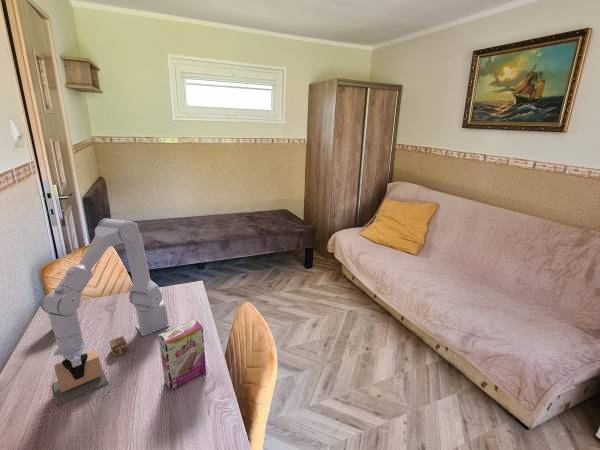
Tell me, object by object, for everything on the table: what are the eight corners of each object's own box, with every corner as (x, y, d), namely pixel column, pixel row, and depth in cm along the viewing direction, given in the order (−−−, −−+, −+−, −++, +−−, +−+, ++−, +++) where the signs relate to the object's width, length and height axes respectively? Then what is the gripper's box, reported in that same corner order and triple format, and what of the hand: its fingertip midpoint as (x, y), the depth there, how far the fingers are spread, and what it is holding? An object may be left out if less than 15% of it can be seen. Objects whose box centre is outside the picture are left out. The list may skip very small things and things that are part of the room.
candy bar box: (171, 392, 91) (164, 343, 86) (164, 382, 94) (156, 334, 89) (207, 371, 98) (203, 325, 93) (199, 363, 102) (194, 318, 97)
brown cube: (124, 346, 109) (122, 336, 108) (127, 352, 106) (126, 342, 105) (111, 351, 107) (109, 340, 105) (114, 358, 104) (112, 347, 102)
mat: (100, 364, 101) (100, 363, 100) (108, 383, 93) (108, 382, 93) (53, 384, 93) (52, 383, 93) (57, 406, 86) (57, 405, 86)
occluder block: (99, 367, 98) (95, 349, 96) (102, 375, 95) (98, 356, 93) (58, 384, 91) (53, 365, 89) (60, 392, 88) (55, 373, 86)
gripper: (46, 325, 90) (57, 365, 95) (53, 352, 80) (64, 396, 84) (76, 316, 95) (85, 354, 99) (86, 340, 85) (95, 382, 89)
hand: (78, 373), depth 92 cm, fingers closed on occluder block, 4 cm apart
